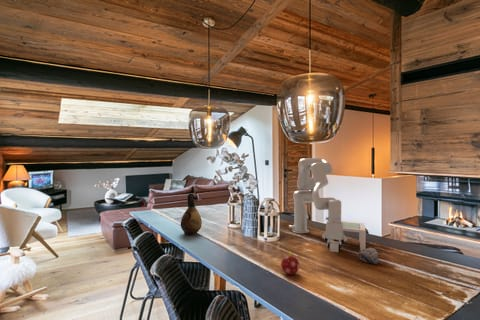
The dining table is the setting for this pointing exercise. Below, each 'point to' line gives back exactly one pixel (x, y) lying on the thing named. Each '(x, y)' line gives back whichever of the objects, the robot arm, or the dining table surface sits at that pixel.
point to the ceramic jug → (191, 218)
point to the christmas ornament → (290, 264)
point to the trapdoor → (350, 225)
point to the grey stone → (334, 246)
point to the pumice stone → (369, 256)
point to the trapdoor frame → (361, 234)
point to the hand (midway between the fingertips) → (334, 249)
